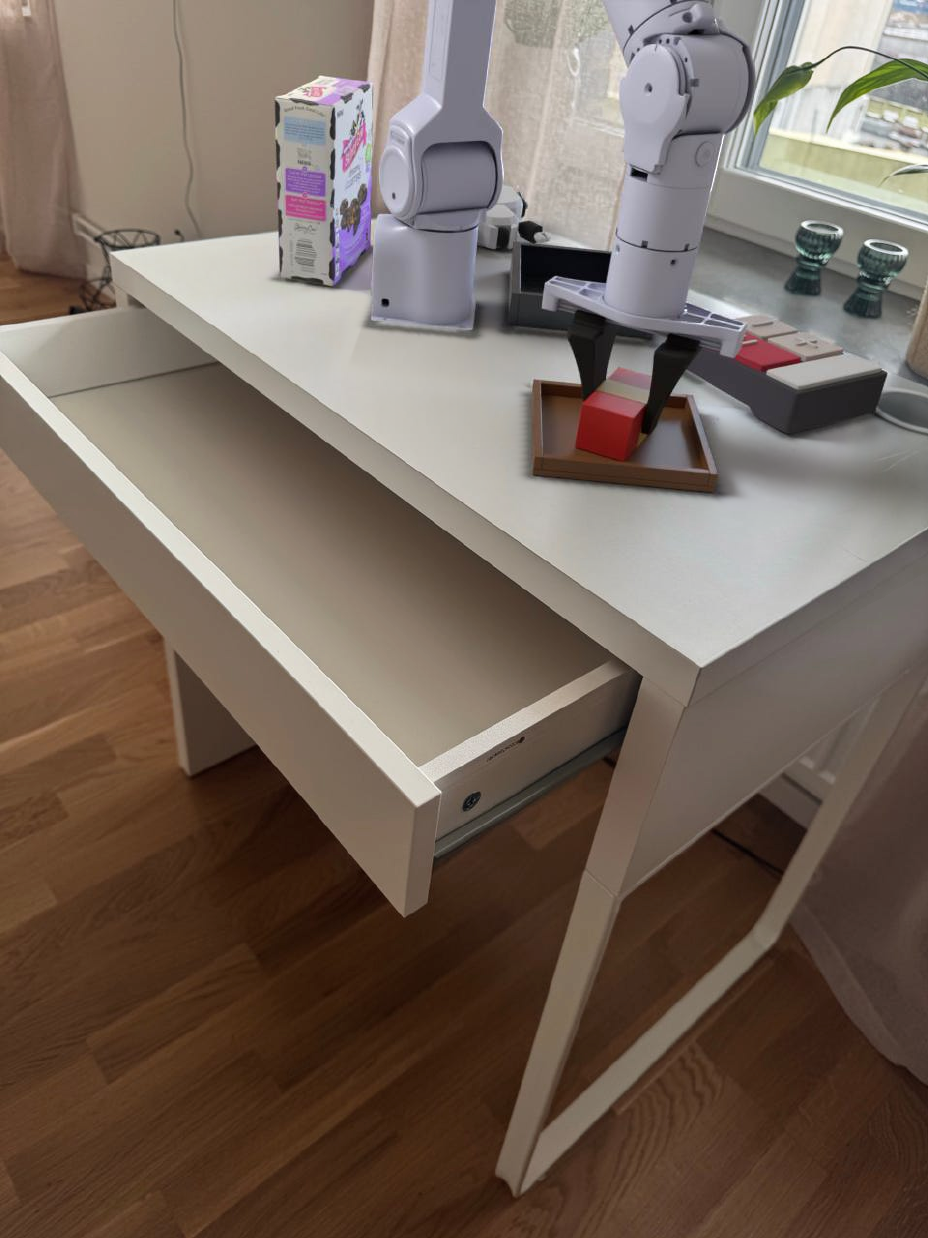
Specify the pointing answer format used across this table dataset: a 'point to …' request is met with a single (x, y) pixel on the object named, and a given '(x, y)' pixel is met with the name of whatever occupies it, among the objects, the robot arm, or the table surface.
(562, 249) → the dark grey open bin
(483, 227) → the robot toy
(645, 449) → the tray
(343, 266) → the candy box
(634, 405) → the red yellow banded block
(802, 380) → the calculator
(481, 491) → the table surface
